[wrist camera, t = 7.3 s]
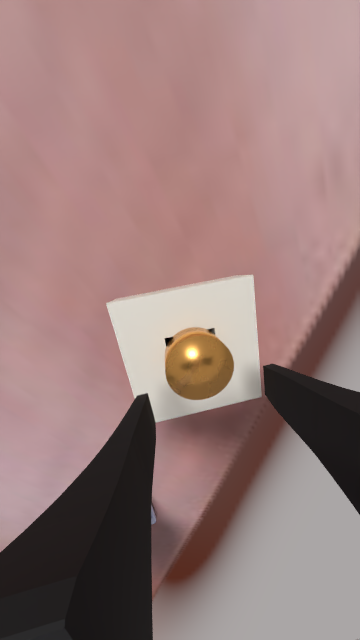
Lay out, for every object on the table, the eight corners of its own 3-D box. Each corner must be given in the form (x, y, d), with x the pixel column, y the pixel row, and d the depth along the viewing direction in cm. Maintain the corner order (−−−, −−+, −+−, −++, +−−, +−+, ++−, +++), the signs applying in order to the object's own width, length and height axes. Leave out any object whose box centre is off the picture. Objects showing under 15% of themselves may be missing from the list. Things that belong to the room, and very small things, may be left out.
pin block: (244, 377, 20) (261, 396, 17) (146, 400, 19) (142, 425, 16) (234, 275, 17) (253, 274, 14) (117, 298, 16) (106, 303, 13)
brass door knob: (214, 357, 19) (237, 391, 13) (169, 367, 19) (173, 407, 13) (207, 313, 18) (229, 329, 12) (159, 323, 17) (158, 346, 12)
